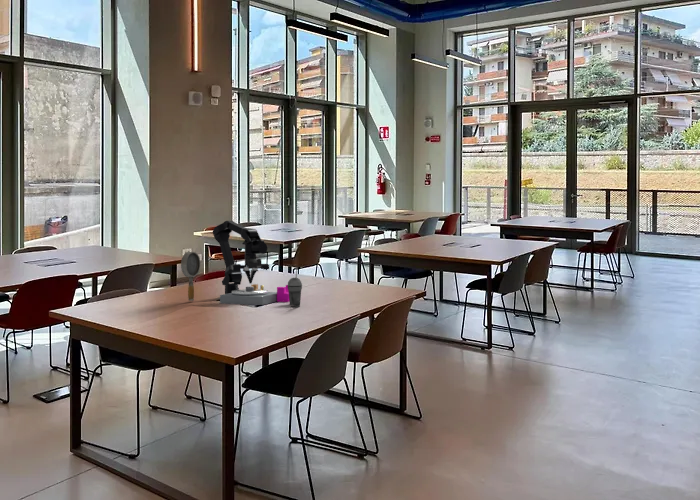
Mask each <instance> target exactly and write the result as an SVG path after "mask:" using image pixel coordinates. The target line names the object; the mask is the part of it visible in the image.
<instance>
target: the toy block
mask: <svg viewBox="0 0 700 500" xmlns="http://www.w3.org/2000/svg"><path fill="white" fill-rule="evenodd" d="M287 285H288V284H285V286H277V288H276V292H277V301H276V302H278V303H290V302H289V291H288V286H287Z"/></svg>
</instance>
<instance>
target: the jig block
mask: <svg viewBox="0 0 700 500" xmlns="http://www.w3.org/2000/svg"><path fill="white" fill-rule="evenodd" d="M275 302H277V291H268V293H267V294H262V295H235V294H232V293H229V294H225V293H223V294H220V295H219V304H227V305H228V304H230V305H231V304H233V305H234V304H235V305H255V306H258V305H259V306H264V305H268V304H272V303H275Z"/></svg>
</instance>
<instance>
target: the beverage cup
mask: <svg viewBox="0 0 700 500" xmlns="http://www.w3.org/2000/svg"><path fill="white" fill-rule="evenodd" d="M295 269H296V270H295V271H296V272H295V277H291V278H290V279H289V280H288V282H287V284H286V285H287V286H288V291H289V302H288V303H289V305H290V306H289V307H290V308H293V309H294V308H295V309H296V308H300V307H301V298H302V297H301V296H302V289H303V283H302V280H300V278H298V270H299V269H298V268H295Z"/></svg>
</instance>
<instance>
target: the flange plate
mask: <svg viewBox="0 0 700 500" xmlns="http://www.w3.org/2000/svg"><path fill="white" fill-rule="evenodd" d="M268 292H269V291H268V290H266V289H264V290H261V288H260V289H259V284H258V283H257V284H256V283H252V284H251V286H245V289H239V290H233V291H232V294H235V295H262V294H267V293H268Z"/></svg>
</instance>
